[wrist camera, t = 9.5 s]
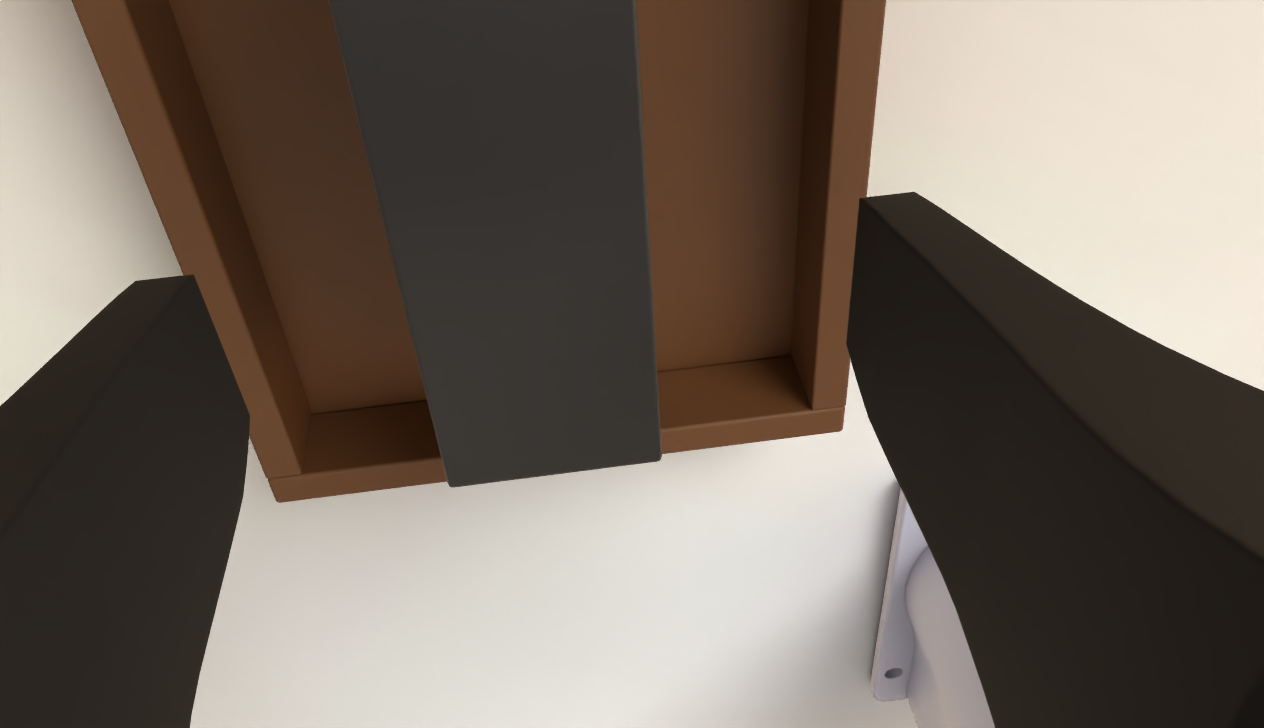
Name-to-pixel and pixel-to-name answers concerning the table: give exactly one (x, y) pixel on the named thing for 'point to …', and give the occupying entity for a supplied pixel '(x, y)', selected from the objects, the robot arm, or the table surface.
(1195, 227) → the table surface
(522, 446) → the dark grey eraser block
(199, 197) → the tray
